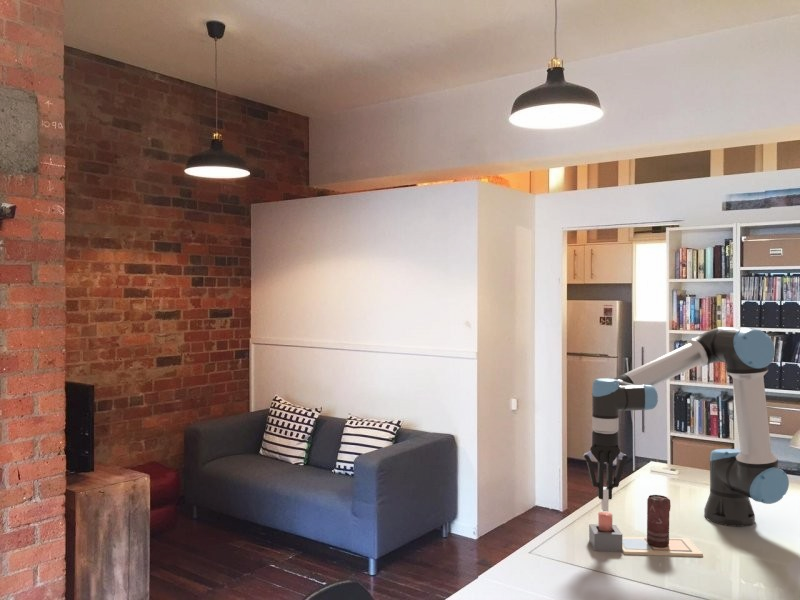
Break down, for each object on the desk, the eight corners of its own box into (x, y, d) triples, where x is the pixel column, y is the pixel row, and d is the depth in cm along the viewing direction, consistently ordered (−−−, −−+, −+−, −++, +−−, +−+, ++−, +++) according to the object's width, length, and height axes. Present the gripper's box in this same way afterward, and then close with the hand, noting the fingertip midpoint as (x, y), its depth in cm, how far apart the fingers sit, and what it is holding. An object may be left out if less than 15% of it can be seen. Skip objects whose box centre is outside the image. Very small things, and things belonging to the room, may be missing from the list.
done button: (610, 527, 201) (610, 512, 200) (613, 531, 197) (613, 516, 197) (597, 526, 201) (597, 511, 201) (599, 531, 197) (599, 516, 197)
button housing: (616, 541, 202) (616, 524, 202) (622, 551, 194) (622, 534, 194) (589, 540, 203) (589, 524, 203) (594, 550, 195) (594, 533, 195)
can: (671, 549, 194) (672, 501, 194) (648, 547, 195) (648, 499, 195) (668, 541, 200) (668, 495, 200) (645, 539, 201) (646, 493, 201)
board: (688, 540, 202) (688, 537, 202) (703, 556, 191) (703, 553, 190) (614, 538, 204) (614, 535, 204) (624, 554, 192) (624, 551, 192)
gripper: (624, 428, 201) (624, 506, 202) (580, 428, 203) (580, 505, 203) (630, 434, 194) (630, 514, 194) (585, 433, 195) (584, 513, 195)
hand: (604, 509), depth 199 cm, fingers closed
